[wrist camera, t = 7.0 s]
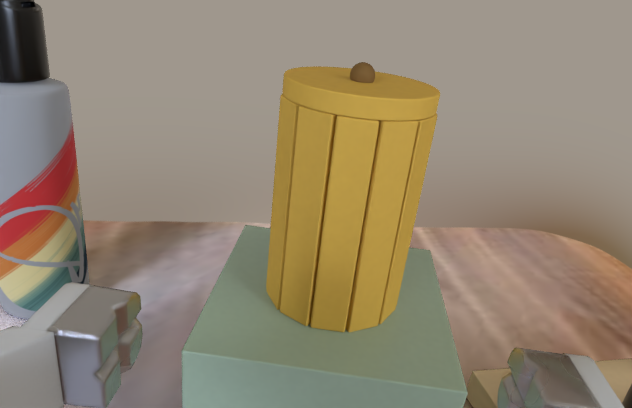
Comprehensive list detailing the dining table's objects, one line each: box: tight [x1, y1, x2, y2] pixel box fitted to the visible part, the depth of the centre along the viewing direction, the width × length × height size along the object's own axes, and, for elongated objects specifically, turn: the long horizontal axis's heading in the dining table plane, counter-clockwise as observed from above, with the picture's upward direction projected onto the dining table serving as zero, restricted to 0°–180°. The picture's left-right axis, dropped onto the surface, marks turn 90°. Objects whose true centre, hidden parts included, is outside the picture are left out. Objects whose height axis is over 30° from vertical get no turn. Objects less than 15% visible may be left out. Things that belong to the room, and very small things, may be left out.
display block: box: [182, 225, 468, 408], centre depth 25 cm, size 11×11×9 cm
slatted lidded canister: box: [266, 62, 440, 332], centre depth 22 cm, size 9×6×11 cm
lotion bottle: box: [0, 0, 89, 319], centre depth 30 cm, size 6×6×20 cm
